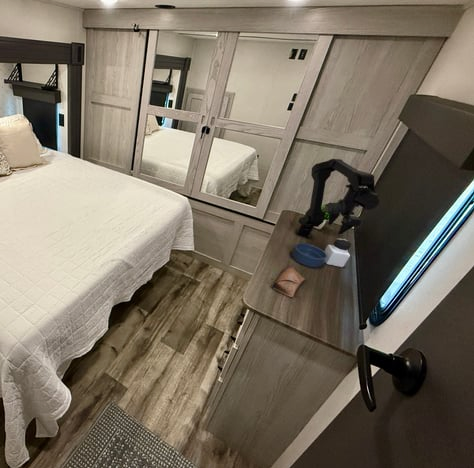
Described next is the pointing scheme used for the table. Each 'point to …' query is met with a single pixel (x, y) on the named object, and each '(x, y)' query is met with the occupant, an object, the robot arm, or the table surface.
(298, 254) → the blue round bowl
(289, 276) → the sunglasses case
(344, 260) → the medicine bottle
